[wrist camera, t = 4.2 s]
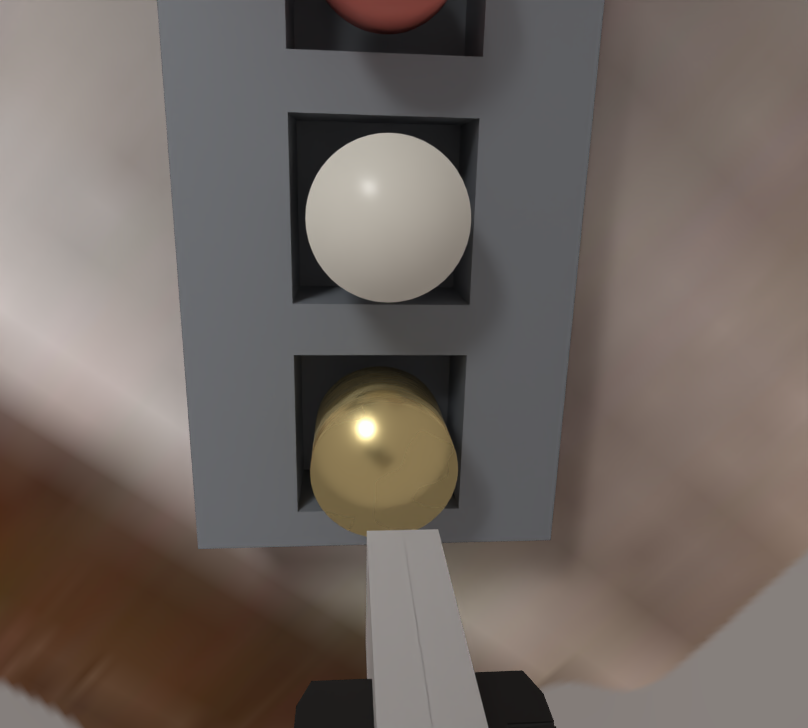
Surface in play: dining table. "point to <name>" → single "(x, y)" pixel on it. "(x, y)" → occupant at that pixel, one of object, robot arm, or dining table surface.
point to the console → (343, 311)
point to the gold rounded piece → (381, 453)
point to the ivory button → (388, 217)
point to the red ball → (386, 14)
